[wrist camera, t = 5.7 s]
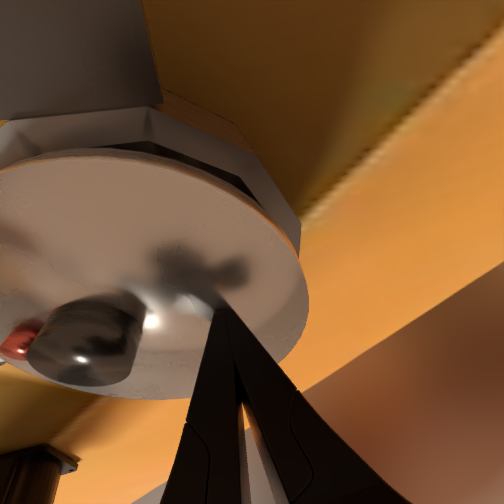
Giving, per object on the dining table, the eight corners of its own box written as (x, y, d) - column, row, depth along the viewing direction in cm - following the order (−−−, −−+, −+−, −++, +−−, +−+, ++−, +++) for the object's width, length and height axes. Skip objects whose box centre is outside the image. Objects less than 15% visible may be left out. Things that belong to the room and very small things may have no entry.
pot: (271, 309, 20) (291, 361, 16) (86, 350, 18) (67, 418, 15) (268, -10, 9) (320, -36, 6) (-185, 12, 7) (-464, -10, 4)
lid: (50, 392, 13) (25, 441, 11) (-210, 169, 6) (-365, 216, 4) (296, 371, 13) (305, 416, 11) (319, 130, 6) (349, 162, 5)
